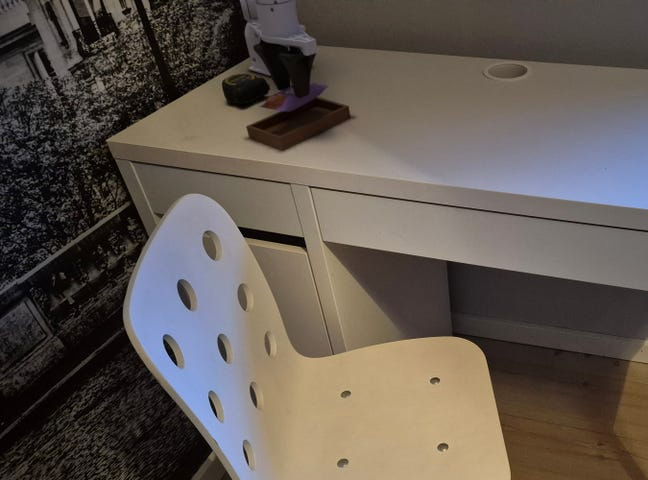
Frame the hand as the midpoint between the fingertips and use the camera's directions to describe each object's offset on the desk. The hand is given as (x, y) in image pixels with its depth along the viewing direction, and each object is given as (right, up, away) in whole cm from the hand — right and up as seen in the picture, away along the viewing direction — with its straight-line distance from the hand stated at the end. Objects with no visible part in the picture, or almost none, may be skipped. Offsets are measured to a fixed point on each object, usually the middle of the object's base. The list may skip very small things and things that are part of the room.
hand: (293, 92), depth 108 cm
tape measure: (-12, +4, +14) cm, 18 cm away
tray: (0, -4, +4) cm, 6 cm away
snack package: (0, -1, +1) cm, 2 cm away
